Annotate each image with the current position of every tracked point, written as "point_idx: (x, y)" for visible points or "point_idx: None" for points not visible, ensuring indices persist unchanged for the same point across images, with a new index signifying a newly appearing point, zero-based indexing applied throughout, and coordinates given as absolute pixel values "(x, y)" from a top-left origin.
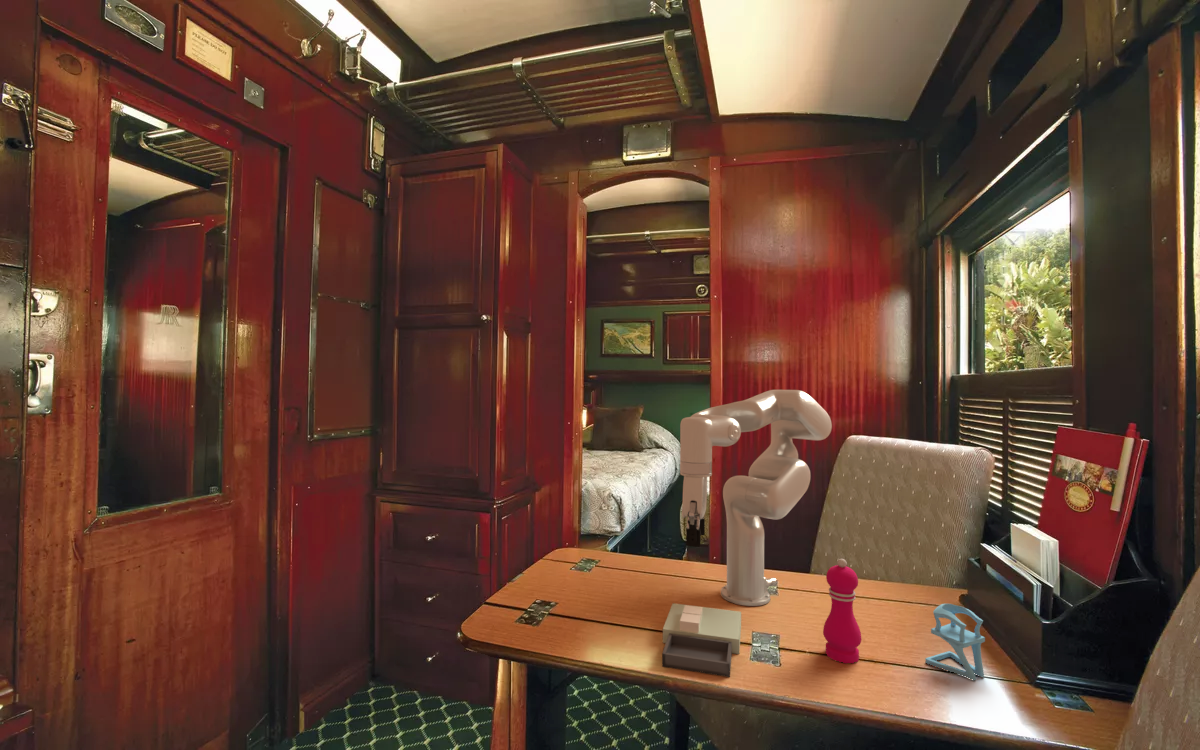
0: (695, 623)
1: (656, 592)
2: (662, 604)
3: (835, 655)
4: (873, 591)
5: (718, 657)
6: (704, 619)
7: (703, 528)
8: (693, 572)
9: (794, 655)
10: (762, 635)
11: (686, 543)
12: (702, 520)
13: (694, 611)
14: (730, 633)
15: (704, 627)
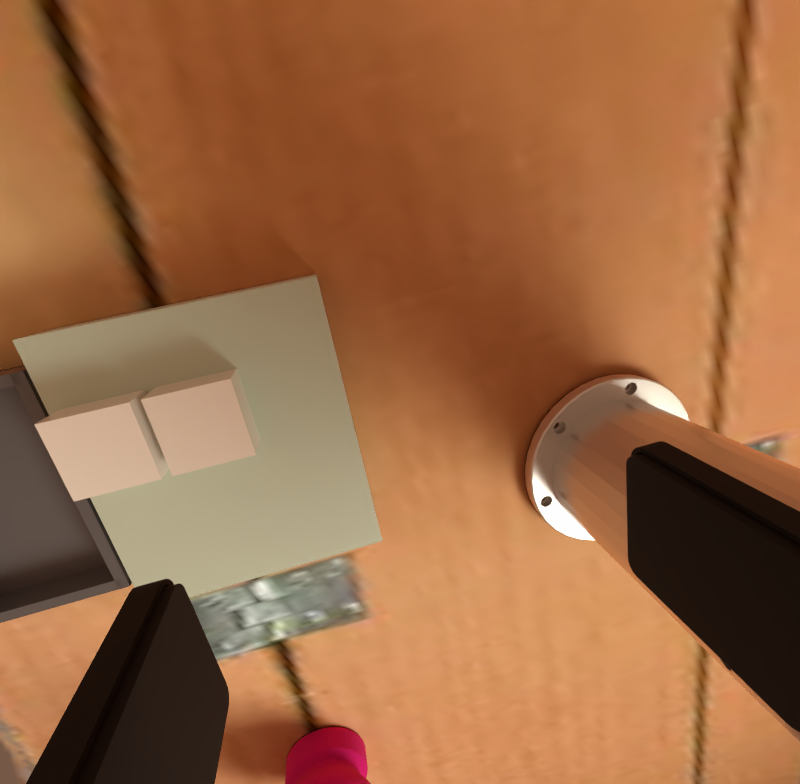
0: (69, 487)
1: (521, 108)
2: (405, 187)
3: (286, 769)
4: (743, 707)
5: (66, 546)
6: None
7: (686, 624)
8: (789, 198)
9: (259, 681)
10: (335, 585)
11: (126, 602)
12: (797, 718)
13: (187, 441)
14: (174, 572)
15: (157, 482)
